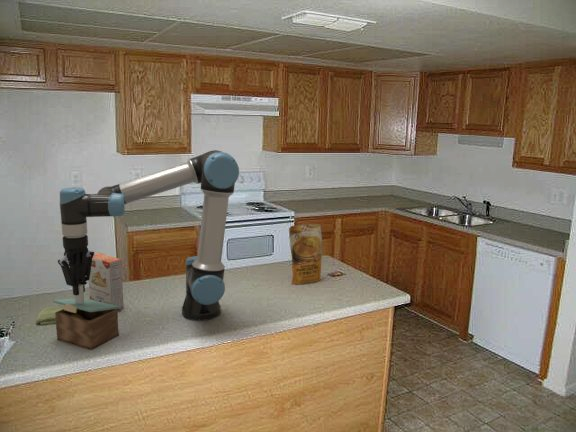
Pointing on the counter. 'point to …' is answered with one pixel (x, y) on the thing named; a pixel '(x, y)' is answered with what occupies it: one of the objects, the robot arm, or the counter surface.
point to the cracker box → (106, 280)
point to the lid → (85, 305)
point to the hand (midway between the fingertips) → (79, 302)
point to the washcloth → (48, 315)
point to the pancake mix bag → (306, 252)
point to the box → (87, 327)
